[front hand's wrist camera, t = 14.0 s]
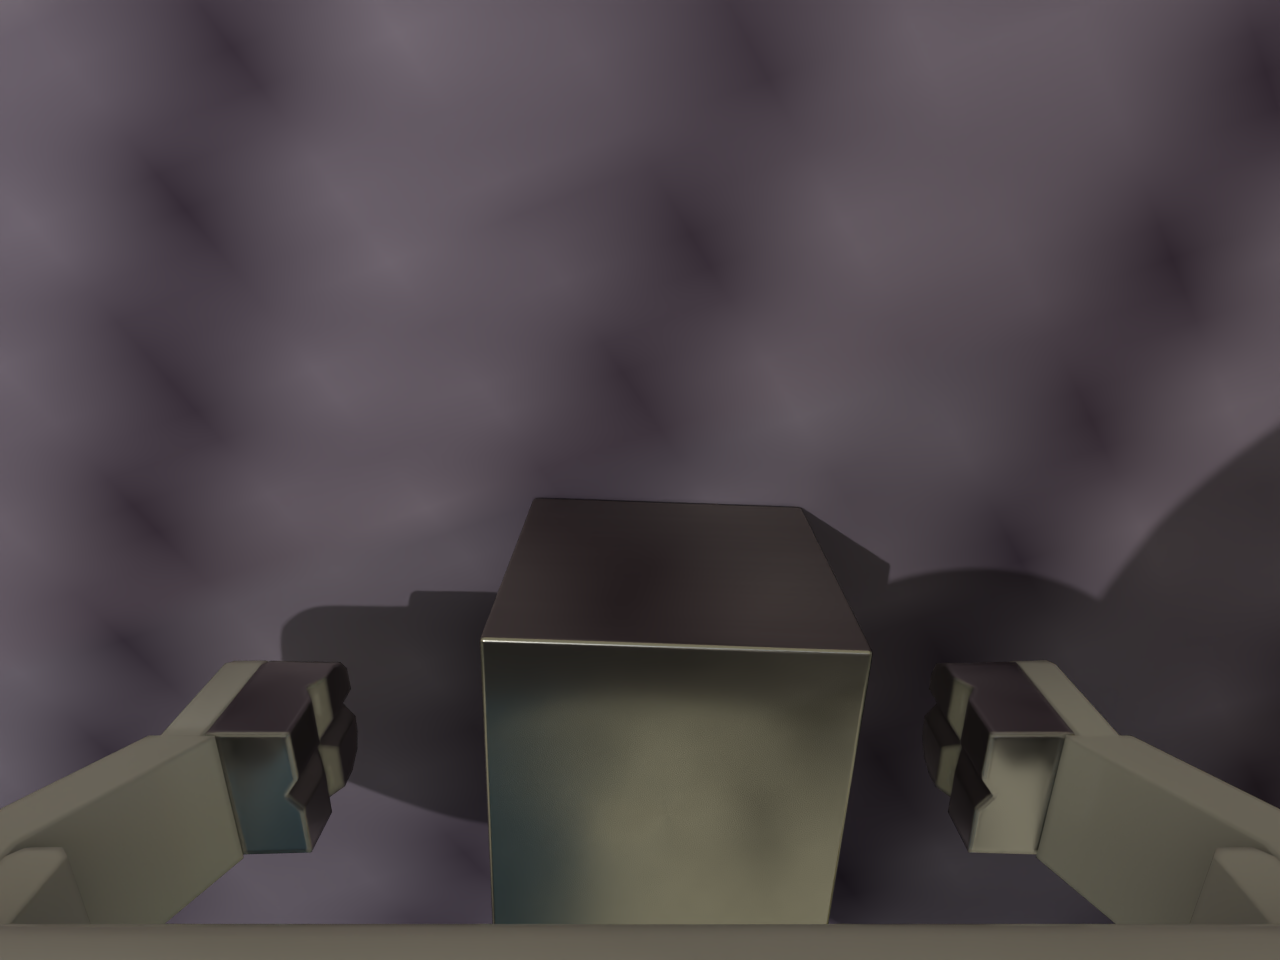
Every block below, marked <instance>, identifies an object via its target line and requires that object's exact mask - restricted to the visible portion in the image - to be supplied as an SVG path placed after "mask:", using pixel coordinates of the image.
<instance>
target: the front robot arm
mask: <svg viewBox="0 0 1280 960" xmlns="http://www.w3.org/2000/svg"><path fill="white" fill-rule="evenodd" d="M350 690H351V686H350V681H349V676H348V671H347V668H346V667H345V666H344V665H343V664H342V663H341V662H305V661H269V662H268V661H232V662H229V663H226V664H224V665H223V667H222V668H221V669H220V670H219V671H218V672H217V673H216V674H215V675H214V677H213V678H212V679H211V680H210V681H209V682H208V683H207V684H206V685H205V687H204V688H203V689H202V690H201V691H200V692H199V693H198V694H197V695H196V697H195V698H194V699H193V700H192V701H191V702H190V703H189V704H188V706H187V707H186V708H185V709H184V710H183V711H182V712H181V713H180V714H179V716H178V717H177V718H176V719H175V720H174V721H173V722H172V723H171V724H170V726H169V727H168V728H167V729H166V730H165V731H164V732H163V733H162V734H161V736H147V737H145V738H143V739H141V740H139V741H137V742H135V743H133V744H131V745H129V746H127V747H125V748H123V749H121V750H119V751H117V752H114V753H112V754H110V755H108V756H106V757H104V758H102V759H100V760H98V761H96V762H94V763H92V764H90V765H88V766H86V767H84V768H82V769H80V770H78V771H76V772H74V773H72V774H70V775H68V776H66V777H64V778H62V779H60V780H58V781H56V782H54V783H52V784H50V785H48V786H46V787H44V788H42V789H40V790H38V791H36V792H34V793H32V794H30V795H28V796H25V797H23V798H21V799H19V800H17V801H15V802H13V803H11V804H9V805H7V806H5V807H3V808H1V809H0V960H1280V809H1278V808H1276V807H1274V806H1272V805H1270V804H1268V803H1266V802H1264V801H1262V800H1260V799H1258V798H1256V797H1254V796H1252V795H1250V794H1248V793H1246V792H1244V791H1242V790H1240V789H1238V788H1236V787H1234V786H1232V785H1230V784H1228V783H1226V782H1224V781H1222V780H1220V779H1218V778H1216V777H1214V776H1212V775H1210V774H1208V773H1206V772H1204V771H1202V770H1200V769H1198V768H1196V767H1194V766H1192V765H1190V764H1188V763H1186V762H1184V761H1182V760H1180V759H1178V758H1176V757H1173V756H1171V755H1169V754H1167V753H1165V752H1163V751H1161V750H1159V749H1157V748H1155V747H1153V746H1151V745H1149V744H1147V743H1145V742H1143V741H1141V740H1139V739H1137V738H1135V737H1133V736H1119V735H1118V733H1117V732H1116V731H1115V730H1114V729H1113V728H1112V727H1111V726H1110V724H1109V723H1108V722H1107V721H1106V720H1105V719H1104V718H1103V717H1102V716H1101V714H1100V713H1099V712H1098V711H1097V710H1096V709H1095V708H1094V707H1093V706H1092V704H1091V703H1090V702H1089V701H1088V700H1087V699H1086V698H1085V697H1084V695H1083V694H1082V693H1081V692H1080V691H1079V690H1078V689H1077V688H1076V687H1075V685H1074V684H1073V683H1072V682H1071V681H1070V680H1069V679H1068V678H1067V677H1066V675H1065V674H1064V673H1063V672H1062V671H1061V670H1060V669H1059V668H1058V667H1057V665H1056V664H1054V663H1052V662H1049V661H1047V660H1035V661H1010V662H981V663H936V665H935V667H934V670H933V672H932V674H931V680H930V686H929V690H930V691H931V693H932V695H933V697H934V698H935V700H936V702H937V704H936V705H935V706H934V707H933V708H932V709H931V710H930V711H929V712H928V713H927V714H926V715H925V717H924V726H923V734H922V740H923V751H924V759H925V762H926V765H927V769H928V772H929V774H930V776H931V779H932V781H933V783H934V785H935V787H937V788H938V789H940V790H941V791H943V792H944V793H945V794H947V795H948V796H950V803H949V809H948V813H949V815H950V817H951V819H952V821H953V823H954V825H955V827H956V829H957V831H958V832H959V834H960V836H961V838H962V840H963V842H964V844H965V846H966V848H967V850H968V852H974V853H1009V854H1037V856H1036V858H1038V859H1039V860H1040V861H1041V862H1042V863H1044V864H1045V865H1046V866H1047V867H1048V868H1049V869H1051V870H1052V871H1053V872H1054V873H1055V874H1057V875H1058V876H1059V877H1060V878H1061V879H1063V880H1064V881H1065V882H1066V883H1067V884H1069V885H1070V886H1071V887H1072V888H1073V889H1075V890H1076V891H1077V892H1078V893H1079V894H1081V895H1082V896H1083V897H1084V898H1085V899H1087V900H1088V901H1089V902H1090V903H1091V904H1093V905H1094V906H1095V907H1096V908H1097V909H1099V910H1100V911H1101V912H1102V913H1103V914H1105V915H1106V916H1107V917H1108V918H1109V919H1111V920H1112V921H1113V922H1114V923H1115V924H165V923H166V922H167V921H168V920H170V919H171V918H172V917H173V916H174V915H176V914H177V913H178V912H179V911H180V910H182V909H183V908H184V907H185V906H186V905H188V904H189V903H190V902H191V901H192V900H194V899H195V898H196V897H197V896H198V895H200V894H201V893H202V892H203V891H204V890H206V889H207V888H208V887H209V886H210V885H212V884H213V883H214V882H215V881H216V880H218V879H219V878H220V877H221V876H222V875H224V874H225V873H226V872H227V871H228V870H230V869H231V868H232V867H233V866H234V865H236V864H237V863H238V862H239V861H240V860H242V859H243V857H244V856H243V854H270V853H304V852H312V850H313V848H314V846H315V844H316V842H317V840H318V838H319V836H320V835H321V833H322V831H323V829H324V827H325V825H326V823H327V821H328V819H329V817H330V815H331V813H332V809H331V803H330V796H332V795H333V794H335V793H336V792H337V791H339V790H340V789H342V788H343V787H345V785H346V783H347V781H348V778H349V776H350V774H351V772H352V770H353V765H354V761H355V756H356V752H357V732H358V731H357V724H356V717H355V715H354V714H353V713H352V712H351V711H350V710H349V709H348V708H347V707H346V706H345V705H344V704H343V702H344V700H345V698H346V697H347V695H348V693H349V691H350Z"/></svg>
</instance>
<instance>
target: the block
mask: <svg viewBox="0 0 1280 960" xmlns="http://www.w3.org/2000/svg"><path fill="white" fill-rule="evenodd" d="M872 655H873V653H872V650H871V648H870V646H869V644H868V642H867V640H866V638H865V636H864V634H863V632H862V630H861V628H860V626H859V624H858V622H857V620H856V618H855V616H854V614H853V612H852V610H851V608H850V606H849V604H848V602H847V600H846V598H845V596H844V594H843V592H842V590H841V588H840V586H839V584H838V582H837V580H836V578H835V576H834V574H833V572H832V570H831V568H830V566H829V564H828V562H827V559H826V557H825V555H824V553H823V551H822V549H821V547H820V545H819V543H818V541H817V539H816V537H815V535H814V533H813V531H812V529H811V527H810V525H809V523H808V521H807V519H806V517H805V515H804V513H803V511H802V509H800V508H793V507H765V506H737V505H709V504H681V503H653V502H624V501H596V500H568V499H540V498H536V499H534V500H533V502H532V505H531V507H530V510H529V512H528V515H527V518H526V520H525V523H524V526H523V528H522V531H521V533H520V536H519V539H518V541H517V544H516V546H515V549H514V552H513V554H512V557H511V559H510V562H509V565H508V567H507V570H506V572H505V575H504V578H503V580H502V583H501V586H500V588H499V591H498V593H497V596H496V599H495V601H494V604H493V606H492V609H491V612H490V614H489V617H488V619H487V622H486V625H485V627H484V630H483V633H482V635H481V638H480V659H481V681H482V703H483V725H484V748H485V770H486V792H487V814H488V837H489V859H490V881H491V904H492V924H829V918H830V911H831V905H832V899H833V893H834V887H835V881H836V875H837V869H838V863H839V857H840V850H841V844H842V838H843V832H844V826H845V820H846V814H847V808H848V802H849V796H850V789H851V783H852V777H853V771H854V765H855V759H856V753H857V747H858V741H859V735H860V728H861V722H862V716H863V710H864V704H865V698H866V692H867V686H868V680H869V674H870V667H871V661H872Z"/></svg>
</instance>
